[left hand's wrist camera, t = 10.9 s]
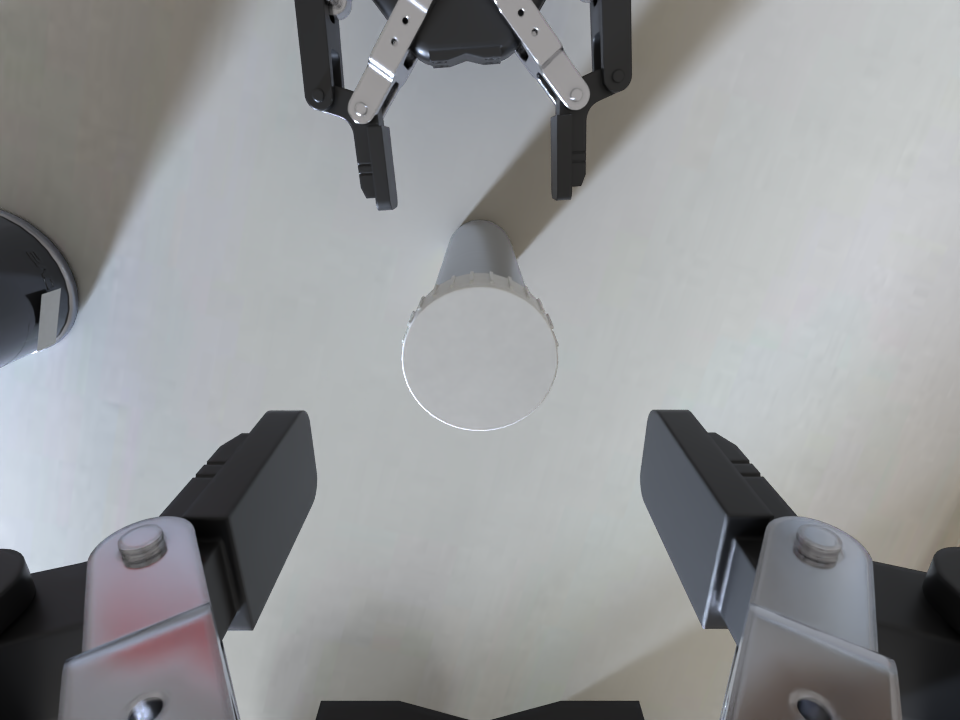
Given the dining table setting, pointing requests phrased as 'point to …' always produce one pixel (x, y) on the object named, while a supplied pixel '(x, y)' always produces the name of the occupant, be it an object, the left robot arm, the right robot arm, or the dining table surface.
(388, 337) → the dining table surface
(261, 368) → the dining table surface
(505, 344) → the lid
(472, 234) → the slim metal bottle
